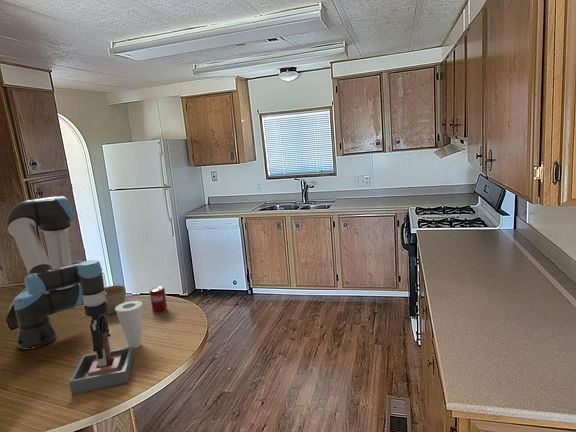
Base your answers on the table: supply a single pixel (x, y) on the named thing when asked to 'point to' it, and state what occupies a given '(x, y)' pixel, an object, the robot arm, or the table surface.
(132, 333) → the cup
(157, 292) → the soda can
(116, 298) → the planter bowl
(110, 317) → the table surface
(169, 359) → the table surface
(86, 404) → the table surface
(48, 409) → the table surface
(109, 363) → the peg
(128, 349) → the box
